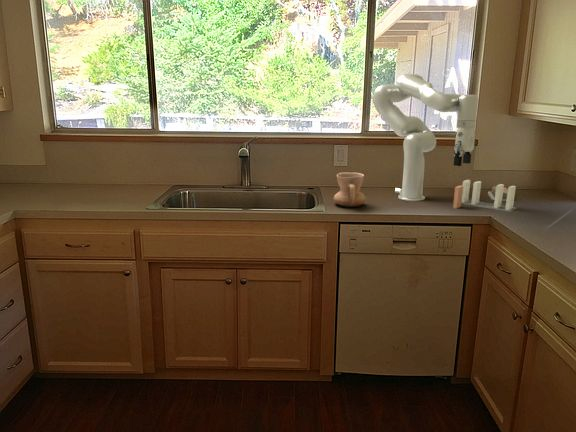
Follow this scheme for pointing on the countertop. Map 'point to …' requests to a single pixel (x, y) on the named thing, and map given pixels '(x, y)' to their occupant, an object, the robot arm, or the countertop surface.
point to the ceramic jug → (350, 189)
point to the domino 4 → (498, 195)
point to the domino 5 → (510, 197)
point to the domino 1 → (458, 196)
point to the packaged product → (492, 194)
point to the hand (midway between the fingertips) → (462, 164)
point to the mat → (488, 205)
